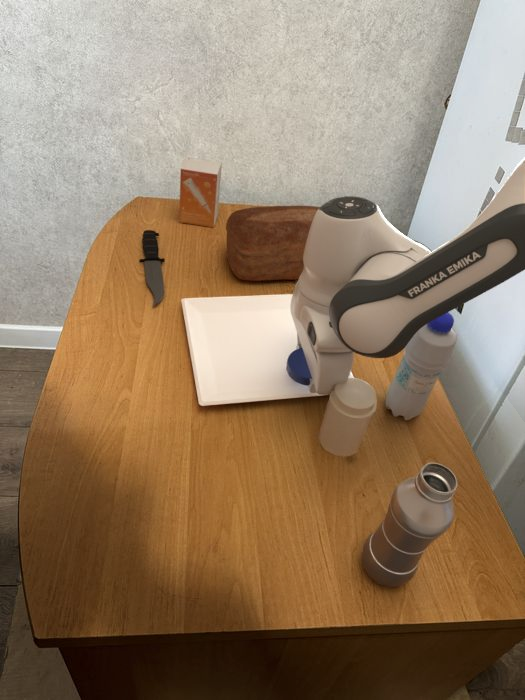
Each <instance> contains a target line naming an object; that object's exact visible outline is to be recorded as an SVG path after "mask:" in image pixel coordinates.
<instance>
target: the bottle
mask: <svg viewBox="0 0 525 700" xmlns="http://www.w3.org/2000/svg"><path fill="white" fill-rule="evenodd" d="M454 323H455V318H454V316H453V314H451V313H450V312H447V313H446V314H444V315H442V316H440V317H438V318H436V319H434V320H433V321H431V322H429V323H428V324H426V325H425V326H423V327H422V328H421V329H419V330H418V331H417V332H416V334H415V335H414V336H413V337H412V338H411V340H410V341H409V343H408V344H407V345H406V347H405V348H404V349H403V351H404V353H403V355H402V358H401V359H400V363H399V365H398V368H397V369H396V373H395V375H394V377H393V379H392V381H391V382H390V384H389V386H388V388H387V390H386V394H385V407H386V409H388V410H391V414H392V416H393V417H394V418H396V417H398V416H402V417H403V420H404V421H409V420H411V419H413V418H417V417H419V416H420V415H421V414H422V413H423V411H424V410H425V407H426V405H427V403H428V401H429V398H430V396H431V393H432V391H433V389H434V387H435V385H436V383H437V381H438V379H439V377H440V375H441V373H442V371H443V369H444V368H446V367H447V366H448V364H449V362H450V361H451V359H452V357H453V353H454V350H455V347H456V344H457V339H458V338H457V333H456V332H455V330H454V329H453V326H454Z"/></svg>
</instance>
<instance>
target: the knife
mask: <svg viewBox="0 0 525 700" xmlns="http://www.w3.org/2000/svg"><path fill="white" fill-rule="evenodd" d="M157 237H160V233H159V232H156V230H150V229H146V230H143V232H142V240H141V242H142V243H141V245H142V252H143V255H144V258H140V259H139V260H138V262H139V264H140V263H141V264H144V274H145V283H146V285H147V286H148V288H149V289H150V291H151V292H152V295H153V302H152V308H153V307H154V306H156V305H157V304H159V303H160V302H161V301H162V300H163V298H164V295H165V283H164V276H163V269H162V263H165V258H164V257H163V258H161V257H159V242H158V239H157Z"/></svg>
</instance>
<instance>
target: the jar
mask: <svg viewBox="0 0 525 700" xmlns="http://www.w3.org/2000/svg"><path fill="white" fill-rule="evenodd" d="M376 409H377V393H376V390H375V389H374V387H373V386H372V385H371V384H369V383H368V382H367V381H365V380H363V379H360V378H357V377H354V378H348V380H347V382H346V383H339V384H337V385H335V388H334V391H331V394H330V395H329V397H328V401H327V404H326V407H325V411H324V413H323V417H322V419H321V423H320V427H319V430H318V437H317V438H318V441H319V443H320V446H321V447H322V448H323V449H324V450H325V451H327V452H328V453H330V454H331V455H334V456H337V457H350V456H353V455H355V454H357V453H358V452H359V451H360V449H361V447H362V444H363V441H364V440H365V437H366V434H367V432H368V430H369V427H370V425H371V422H372V419H373V417H374V415H375V412H376Z"/></svg>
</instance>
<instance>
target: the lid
mask: <svg viewBox="0 0 525 700" xmlns="http://www.w3.org/2000/svg"><path fill="white" fill-rule="evenodd" d="M286 370H287V373H288V375H289V376H290V377H291V378H292V379H293V380H294V381H295V382H297V383H299V384H302V385H306V386H308V383H309V379H312V376H311V373H310V370H309V367H308V364H307V361H306V358H305V355H304V352H303V349H302V348H300V349H297V350H294V351H293V352H292V353H291V354H290V355H289V357H288V359H287V367H286Z"/></svg>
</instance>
